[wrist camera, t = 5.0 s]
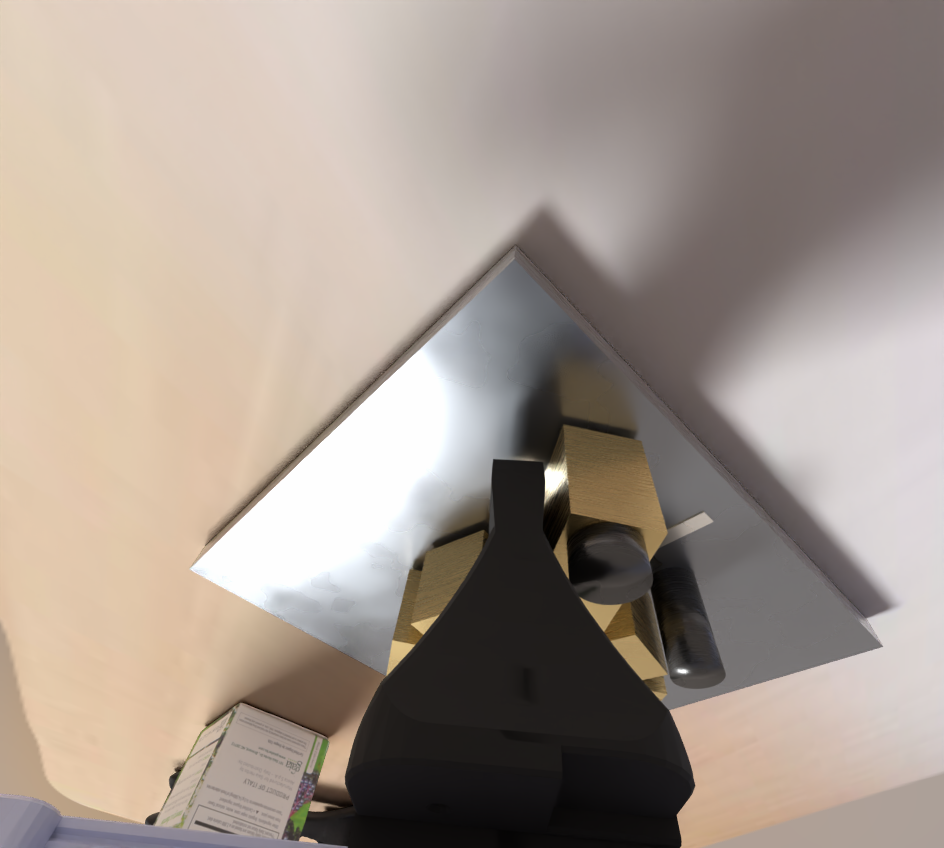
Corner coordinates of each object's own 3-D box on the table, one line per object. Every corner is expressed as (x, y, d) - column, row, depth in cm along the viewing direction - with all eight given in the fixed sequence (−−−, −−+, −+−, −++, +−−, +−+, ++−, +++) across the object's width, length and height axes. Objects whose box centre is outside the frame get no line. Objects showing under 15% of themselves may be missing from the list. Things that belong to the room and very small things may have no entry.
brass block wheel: (598, 689, 20) (610, 804, 17) (395, 649, 19) (369, 759, 16) (760, 466, 12) (835, 598, 9) (440, 398, 12) (409, 511, 9)
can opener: (429, 806, 34) (414, 920, 29) (408, 833, 38) (391, 937, 34) (168, 747, 32) (108, 859, 28) (174, 782, 36) (124, 885, 32)
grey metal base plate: (867, 619, 17) (942, 746, 14) (526, 730, 25) (526, 828, 22) (515, 244, 11) (508, 320, 8) (203, 547, 19) (135, 648, 15)
